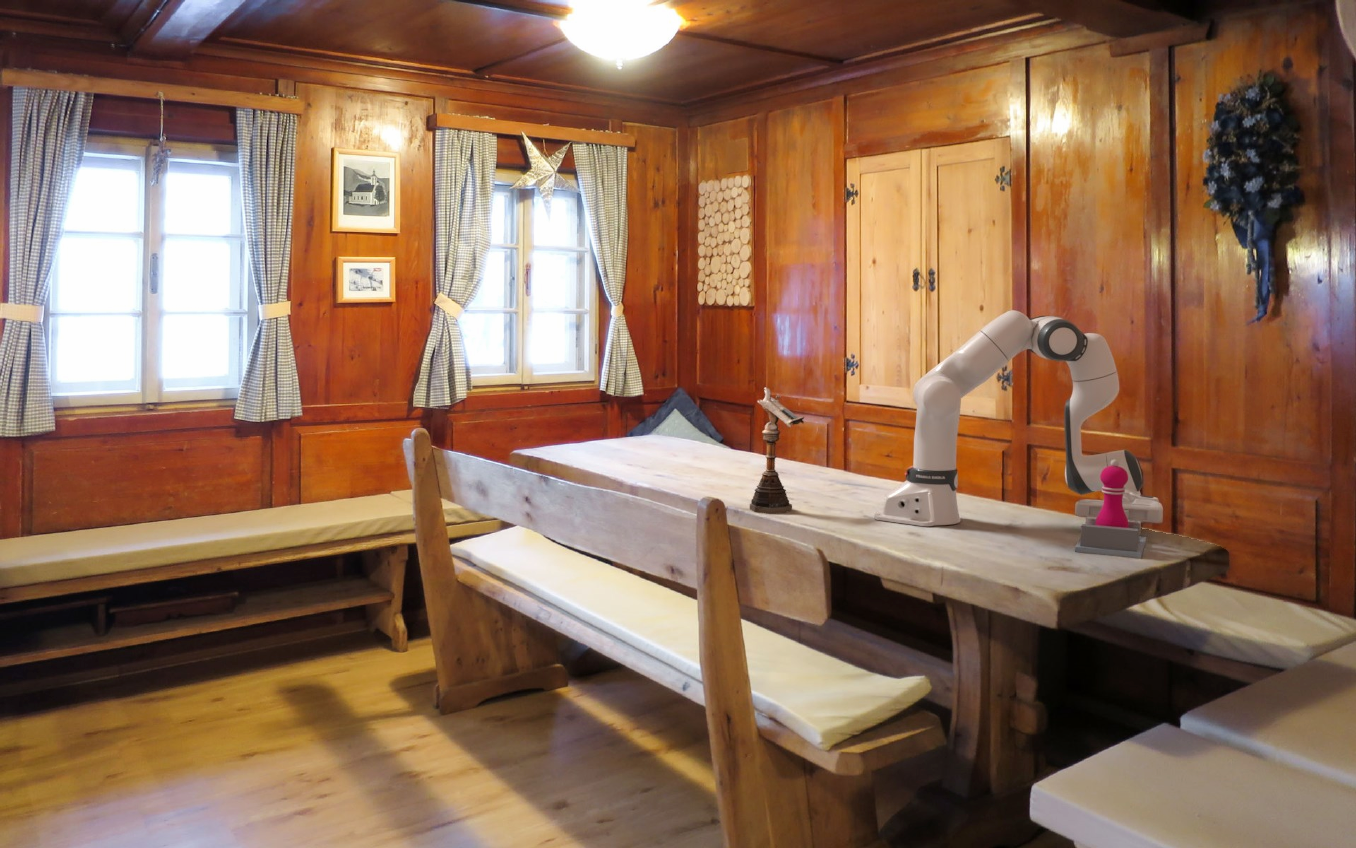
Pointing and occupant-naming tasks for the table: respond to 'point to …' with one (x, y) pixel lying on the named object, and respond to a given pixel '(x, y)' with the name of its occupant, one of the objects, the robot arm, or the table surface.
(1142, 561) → the table surface
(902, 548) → the table surface
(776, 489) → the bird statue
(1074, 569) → the table surface
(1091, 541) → the vise
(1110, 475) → the pepper mill
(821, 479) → the table surface
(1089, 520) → the sliding jaw
